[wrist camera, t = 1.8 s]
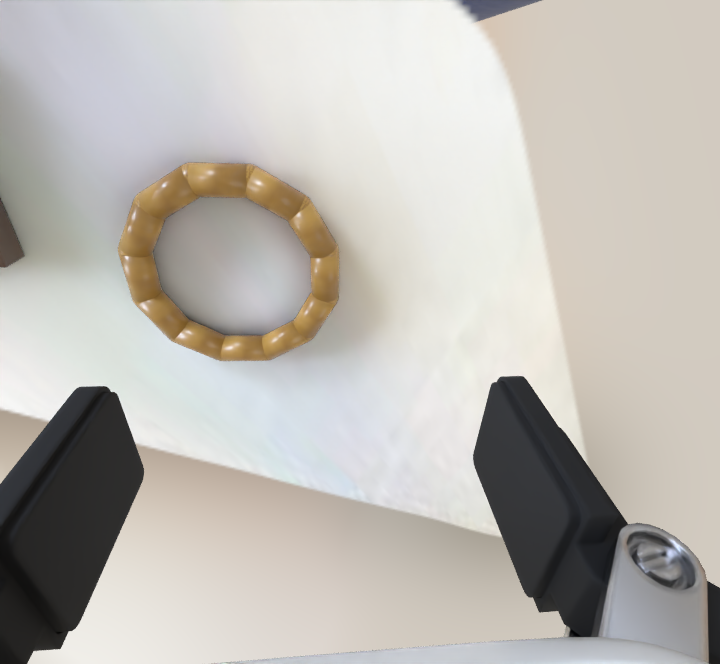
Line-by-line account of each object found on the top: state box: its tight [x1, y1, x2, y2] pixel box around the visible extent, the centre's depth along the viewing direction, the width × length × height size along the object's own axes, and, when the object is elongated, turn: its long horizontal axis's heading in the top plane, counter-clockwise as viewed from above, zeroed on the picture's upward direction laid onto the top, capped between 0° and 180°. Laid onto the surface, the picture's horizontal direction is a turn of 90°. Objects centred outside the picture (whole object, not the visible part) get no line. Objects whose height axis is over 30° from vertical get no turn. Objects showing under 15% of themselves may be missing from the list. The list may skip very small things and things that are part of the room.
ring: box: [118, 162, 339, 361], centre depth 17 cm, size 9×9×1 cm
